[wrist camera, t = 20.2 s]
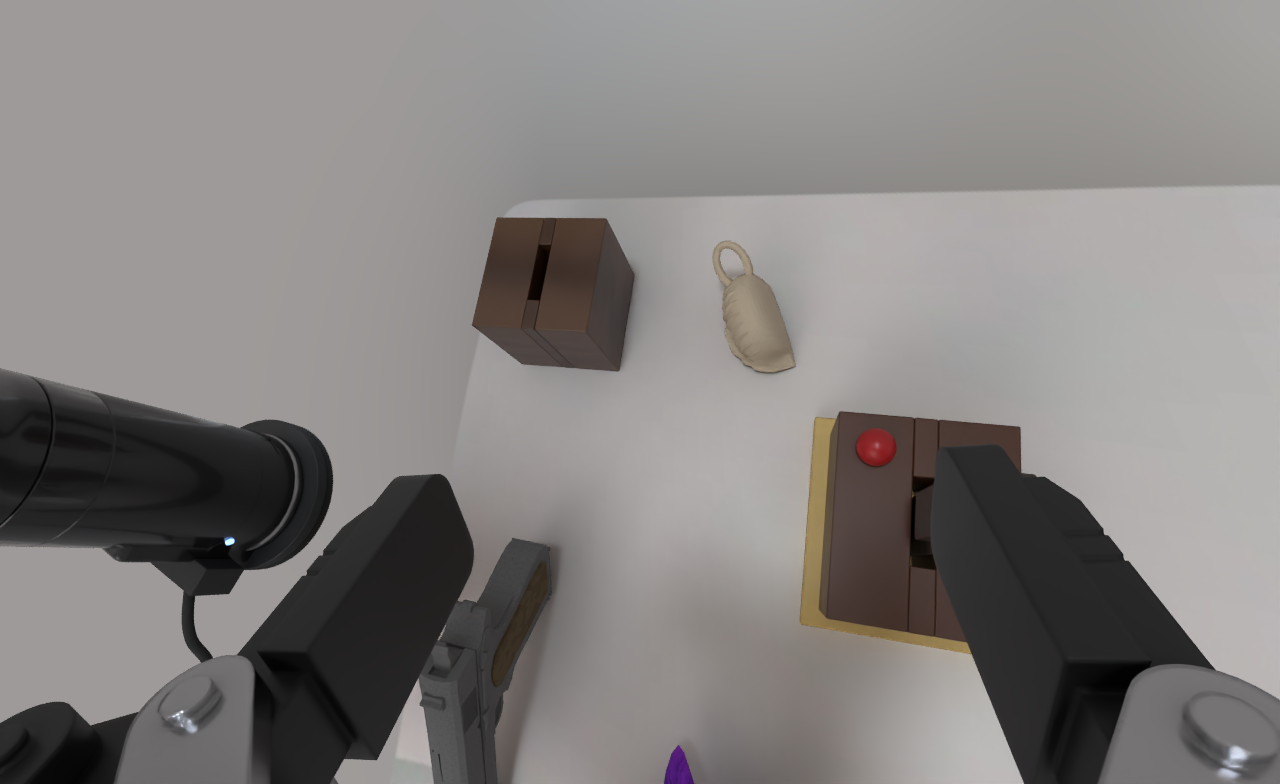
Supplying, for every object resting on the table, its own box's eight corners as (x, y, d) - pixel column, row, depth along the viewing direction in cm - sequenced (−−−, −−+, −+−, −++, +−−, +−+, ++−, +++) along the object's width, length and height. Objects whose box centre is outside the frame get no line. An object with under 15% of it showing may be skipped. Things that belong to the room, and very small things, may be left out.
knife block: (619, 371, 44) (586, 332, 36) (521, 364, 46) (471, 325, 38) (634, 274, 46) (606, 217, 38) (540, 271, 48) (496, 217, 40)
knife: (920, 559, 35) (1038, 555, 19) (881, 553, 36) (964, 545, 20) (922, 505, 36) (1037, 459, 20) (884, 500, 37) (966, 452, 21)
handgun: (555, 530, 39) (449, 661, 28) (559, 736, 45) (472, 910, 34) (517, 522, 40) (399, 647, 29) (525, 726, 45) (430, 893, 35)
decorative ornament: (739, 383, 42) (733, 359, 37) (712, 280, 44) (704, 244, 39) (796, 369, 41) (798, 342, 36) (765, 265, 44) (764, 227, 39)
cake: (996, 657, 34) (1066, 687, 26) (799, 622, 37) (805, 640, 28) (995, 436, 37) (1058, 400, 29) (814, 420, 40) (823, 383, 32)
